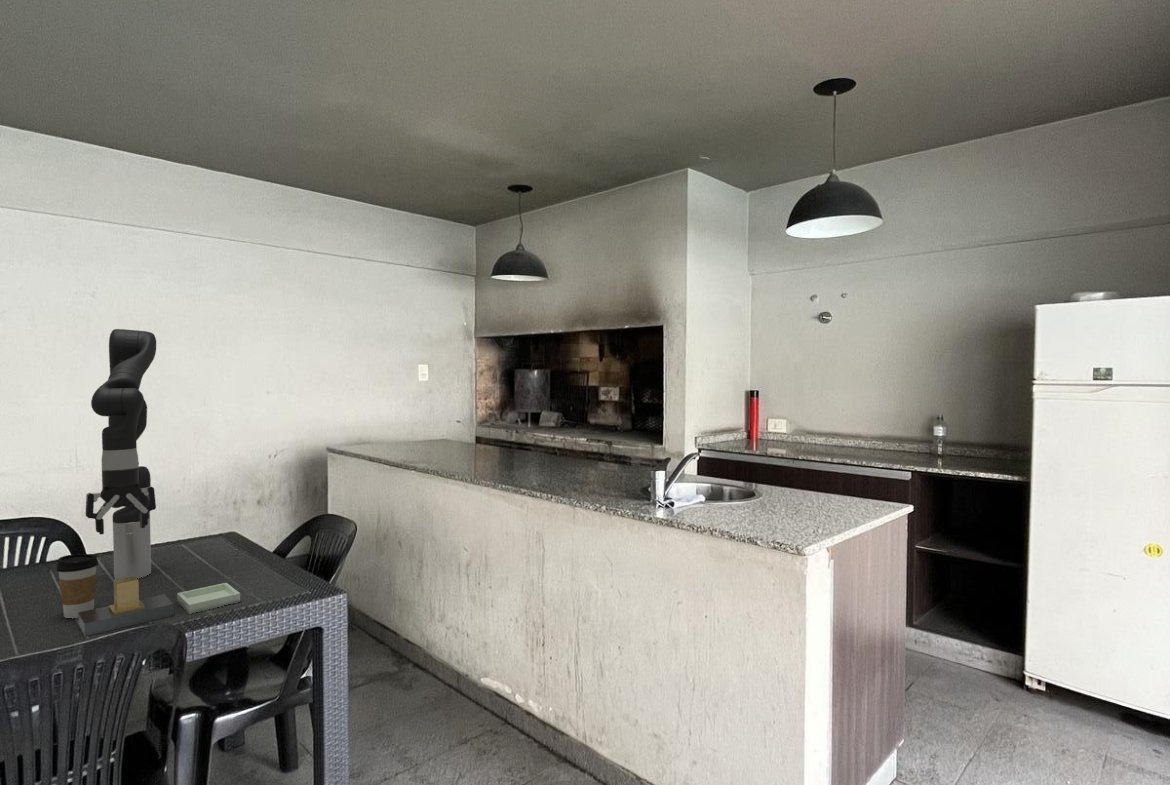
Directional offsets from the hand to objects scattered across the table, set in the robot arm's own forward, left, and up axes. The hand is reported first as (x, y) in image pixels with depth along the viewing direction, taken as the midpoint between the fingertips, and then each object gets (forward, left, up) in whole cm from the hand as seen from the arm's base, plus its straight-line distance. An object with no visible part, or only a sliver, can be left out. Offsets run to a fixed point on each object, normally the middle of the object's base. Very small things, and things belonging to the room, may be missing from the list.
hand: (122, 530), depth 161 cm
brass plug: (+3, 0, -22) cm, 22 cm away
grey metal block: (+3, 0, -22) cm, 22 cm away
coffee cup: (-10, -8, -22) cm, 25 cm away
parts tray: (+4, +18, -22) cm, 29 cm away
